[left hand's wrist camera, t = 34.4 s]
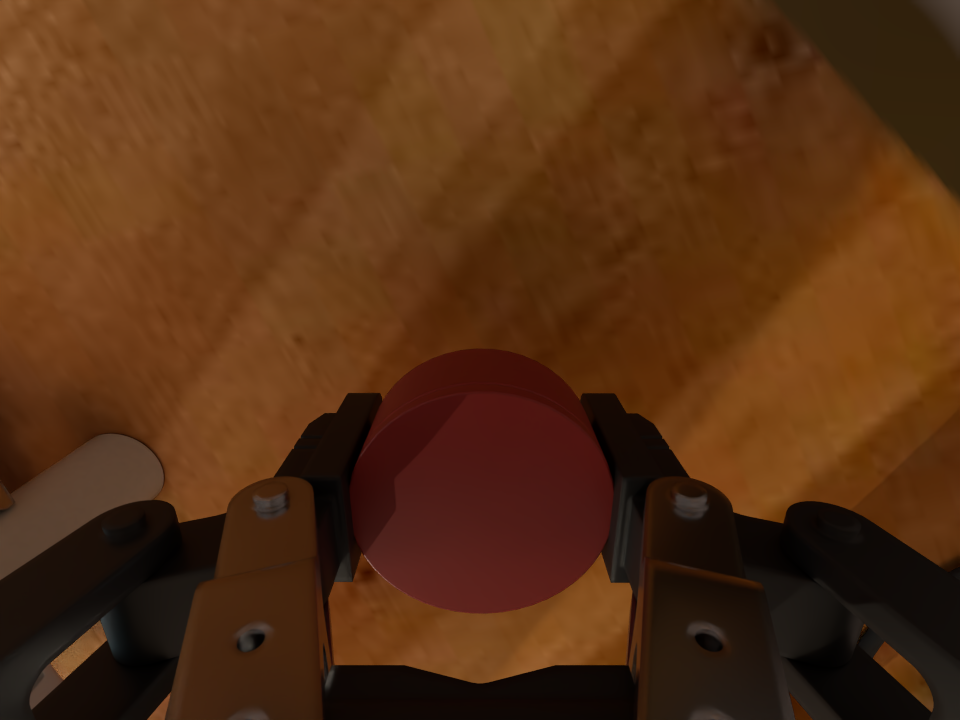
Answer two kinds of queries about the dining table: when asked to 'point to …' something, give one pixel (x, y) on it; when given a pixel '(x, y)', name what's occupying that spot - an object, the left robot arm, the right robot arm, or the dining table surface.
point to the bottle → (76, 495)
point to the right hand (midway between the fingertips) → (32, 555)
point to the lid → (481, 484)
